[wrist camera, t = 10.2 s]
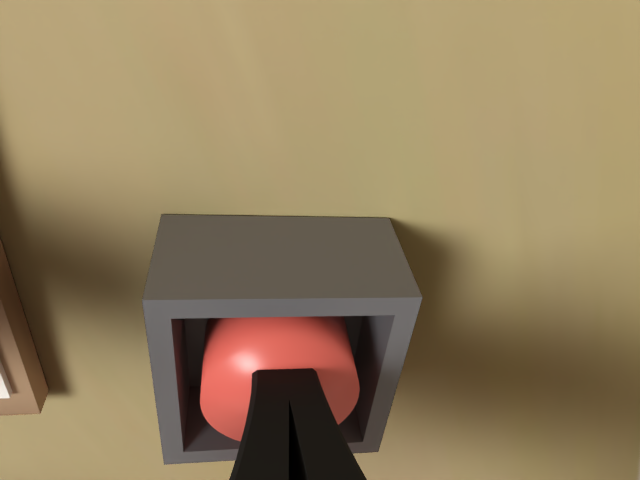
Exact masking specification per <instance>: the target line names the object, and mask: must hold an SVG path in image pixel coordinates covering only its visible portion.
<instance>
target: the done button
mask: <svg viewBox="0 0 640 480" xmlns="http://www.w3.org/2000/svg"><path fill="white" fill-rule="evenodd" d="M300 368H313V369H314V370H315V371H317V375H318V378H319V381H320V383H321V386H322V389H323V391H324V394H325V397H326V399H327V401H328V404H329V406H330V408H331V411H332V413H333V415H334V417H335V420H336V422H337V424H338V425H339V424H340V423H341V422H342V421H343V420H344V419H345V418H346V417H347V416H348V415H349V414H350V413H351V411H352V410H353V409H354V407H355V405H356V403H357V400H358V397H359V391H360V387H359V380H358V376H357V371H356V367H355V363H354V358H353V354H352V350H351V345H350V341H349V336H348V332H347V328H346V323H345V319H344V316H312V317H247V318H209V319H208V321H207V324H206V329H205V340H204V353H203V366H202V380H201V393H200V406H201V410H202V413H203V416H204V417H205V419H206V420H207V422H208V423H209V424H210V425H211V426H212V427H213V428H214V429H216V430H217V431H218V432H220V433H221V434H223V435H225V436H227V437H229V438H231V439H234V440H237V441H240V442H241V439H242V435H243V431H244V427H245V423H246V418H247V413H248V408H249V403H250V396H251V387H252V373H253V372H255V371H256V370H270V369H300Z"/></svg>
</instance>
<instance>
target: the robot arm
mask: <svg viewBox="0 0 640 480" xmlns="http://www.w3.org/2000/svg"><path fill="white" fill-rule="evenodd" d="M229 480H367V479H366V478H365V476H364V474H363V472H362V470H361V469H360V467H359V465H358V463H357V461H356V459H355V458H354V456H353V454H352V452H351V450H350V448H349V446H348V444H347V442H346V440H345V438H344V436H343V434H342V432H341V430H340V428H339V426H338V424H337V422H336V420H335V417H334V415H333V413H332V411H331V408H330V406H329V404H328V401H327V399H326V397H325V394H324V391H323V389H322V386H321V383H320V381H319V378H318V375H317V371H315V370H314V369H313V368H300V369H270V370H256V371H255V372H253V373H252V387H251V396H250V403H249V408H248V413H247V418H246V423H245V427H244V431H243V435H242V439H241V442H240V446H239V450H238V453H237V457H236V461H235V464H234V467H233V470H232V473H231V476H230V479H229Z"/></svg>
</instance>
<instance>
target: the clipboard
mask: <svg viewBox="0 0 640 480" xmlns="http://www.w3.org/2000/svg"><path fill="white" fill-rule="evenodd" d="M48 391H49V390H48V387H47V384H46V381H45V378H44V374H43V371H42V368H41V365H40V362H39V359H38V355H37V352H36V349H35V346H34V343H33V340H32V337H31V333H30V330H29V327H28V324H27V321H26V318H25V315H24V311H23V308H22V305H21V302H20V299H19V296H18V293H17V289H16V286H15V283H14V280H13V277H12V274H11V271H10V267H9V264H8V261H7V258H6V255H5V252H4V248H3V245H2V242H1V239H0V416H2V415H26V414H40V413H41V411H42V408H43V405H44V402H45V400H46V397H47V394H48Z"/></svg>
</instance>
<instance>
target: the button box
mask: <svg viewBox="0 0 640 480" xmlns="http://www.w3.org/2000/svg"><path fill="white" fill-rule="evenodd" d="M422 298H423V297H422V295H421V293H420V290H419V288H418V285H417V283H416V281H415V278H414V276H413V274H412V271H411V269H410V266H409V264H408V262H407V259H406V257H405V255H404V252H403V250H402V247H401V245H400V243H399V240H398V238H397V236H396V233H395V231H394V228H393V226H392V224H391V221H390V219H389V218H353V217H289V216H226V215H163V214H161V219H160V223H159V227H158V232H157V236H156V241H155V245H154V249H153V254H152V258H151V263H150V267H149V272H148V276H147V280H146V285H145V289H144V294H143V298H142V304H143V311H144V318H145V326H146V333H147V341H148V348H149V356H150V363H151V371H152V378H153V386H154V393H155V401H156V408H157V416H158V423H159V431H160V438H161V445H162V453H163V460H164V464H181V463H198V462H215V461H232V460H236V457H237V453H238V450H239V446H240V441H237V440H234V439H231V438H229V437H227V436H225V435H223V434H221V433H220V432H218V431H217V430H216V429H214V428H213V427H212V426H211V425H210V424H209V423H208V422H207V420H206V419H205V417H204V416H203V413H202V410H201V406H200V393H201V380H202V366H203V353H204V340H205V329H206V324H207V321H208V319H209V318H247V317H312V316H344V319H345V323H346V328H347V332H348V336H349V341H350V345H351V350H352V354H353V358H354V363H355V367H356V371H357V376H358V380H359V387H360V391H359V397H358V400H357V403H356V405H355V407H354V409H353V410H352V411H351V413H350V414H349V415H348V416H347V417H346V418H345V419H344V420H343V421H342V422H341V423H340V424H339V425H338V426H339V428H340V430H341V432H342V434H343V436H344V438H345V440H346V442H347V444H348V446H349V448H350V450H351V452H352V453H368V452H378V451H379V447H380V444H381V440H382V437H383V433H384V430H385V426H386V423H387V419H388V416H389V413H390V409H391V406H392V402H393V399H394V395H395V392H396V388H397V385H398V381H399V378H400V374H401V371H402V367H403V364H404V360H405V357H406V353H407V350H408V346H409V343H410V339H411V336H412V332H413V329H414V325H415V322H416V318H417V315H418V312H419V308H420V305H421V301H422Z"/></svg>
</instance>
